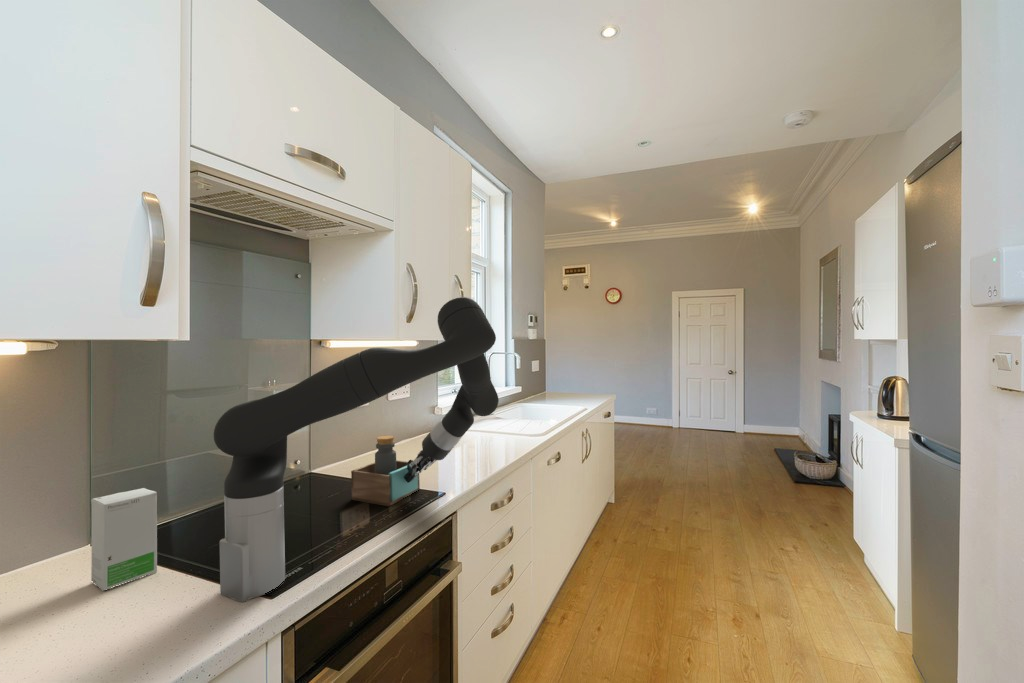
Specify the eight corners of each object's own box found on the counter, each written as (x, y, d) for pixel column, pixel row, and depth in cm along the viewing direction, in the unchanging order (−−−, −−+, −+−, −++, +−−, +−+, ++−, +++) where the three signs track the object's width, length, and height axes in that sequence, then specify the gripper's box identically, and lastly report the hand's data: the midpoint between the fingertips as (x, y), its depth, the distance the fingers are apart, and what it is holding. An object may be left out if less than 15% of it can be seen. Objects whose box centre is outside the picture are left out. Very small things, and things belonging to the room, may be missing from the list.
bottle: (397, 491, 123) (396, 438, 123) (375, 494, 121) (374, 440, 121) (396, 485, 128) (395, 434, 128) (375, 487, 126) (374, 435, 126)
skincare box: (102, 593, 77) (101, 505, 77) (89, 583, 81) (87, 499, 81) (159, 571, 85) (158, 491, 85) (145, 563, 88) (144, 485, 88)
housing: (388, 506, 116) (388, 476, 116) (351, 499, 122) (351, 470, 122) (419, 490, 128) (419, 463, 128) (384, 484, 134) (384, 458, 134)
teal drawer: (392, 501, 117) (392, 473, 117) (358, 495, 122) (357, 468, 122) (417, 488, 127) (417, 462, 127) (385, 483, 132) (384, 458, 132)
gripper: (436, 455, 110) (399, 498, 115) (464, 443, 122) (429, 482, 127) (419, 432, 112) (383, 475, 117) (448, 423, 124) (414, 462, 129)
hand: (407, 479), depth 122 cm, fingers closed
